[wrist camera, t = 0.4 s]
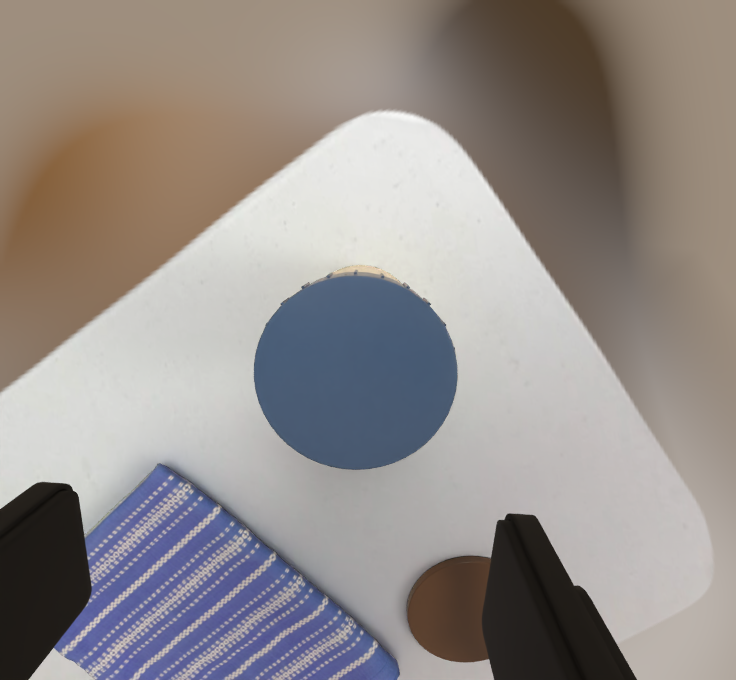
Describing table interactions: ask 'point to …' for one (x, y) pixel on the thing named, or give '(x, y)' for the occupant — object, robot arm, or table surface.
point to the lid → (355, 371)
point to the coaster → (451, 609)
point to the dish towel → (205, 600)
